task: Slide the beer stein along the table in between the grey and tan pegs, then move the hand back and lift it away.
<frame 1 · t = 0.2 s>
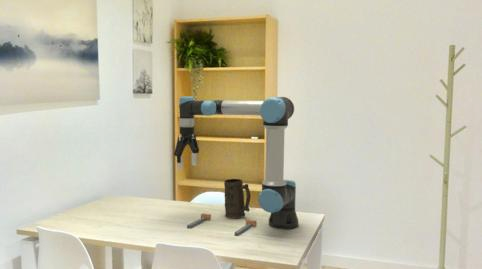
hand: (187, 167, 231), 28 cm above the table, tool pointing down, fingers open, 13 cm apart
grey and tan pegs: (219, 227, 220), on the table
beer stein: (237, 217, 239), on the table
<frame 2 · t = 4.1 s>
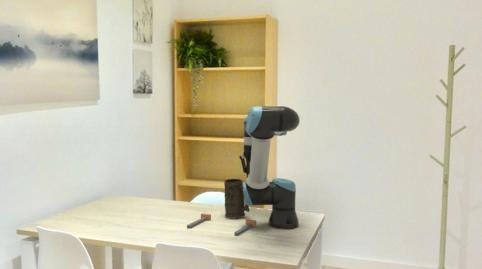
hand: (250, 185, 253), 14 cm above the table, tool pointing down, fingers closed
nothing on the table moved.
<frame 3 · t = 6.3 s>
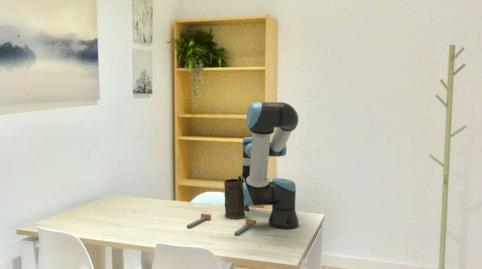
hand: (248, 205, 252), 3 cm above the table, tool pointing down, fingers closed
nothing on the table moved.
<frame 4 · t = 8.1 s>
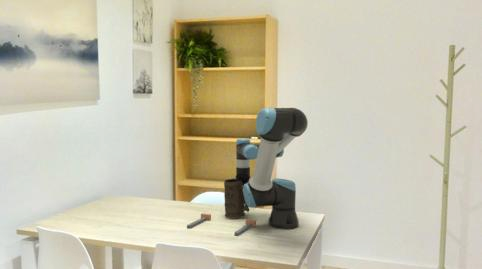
hand: (243, 209, 244), 3 cm above the table, tool pointing down, fingers closed
beer stein: (237, 217, 239), on the table, touching gripper
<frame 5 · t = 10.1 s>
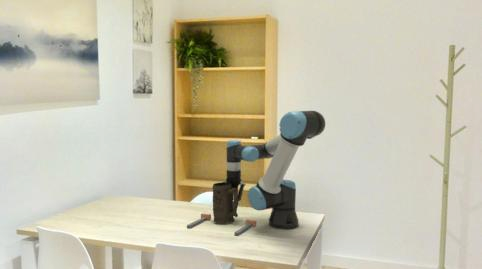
hand: (233, 213, 234), 3 cm above the table, tool pointing down, fingers closed
beer stein: (226, 222, 229), on the table, touching gripper, hand
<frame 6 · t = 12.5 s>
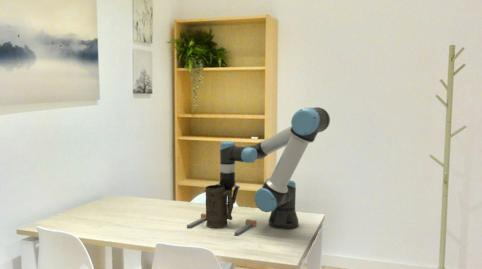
hand: (227, 217, 228), 3 cm above the table, tool pointing down, fingers closed
beer stein: (220, 226, 223), on the table, touching gripper, hand
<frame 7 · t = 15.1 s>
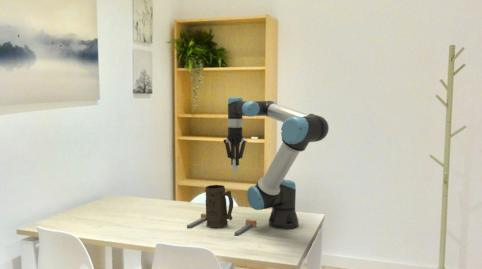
hand: (235, 171, 233), 25 cm above the table, tool pointing down, fingers closed
beer stein: (220, 226, 223), on the table
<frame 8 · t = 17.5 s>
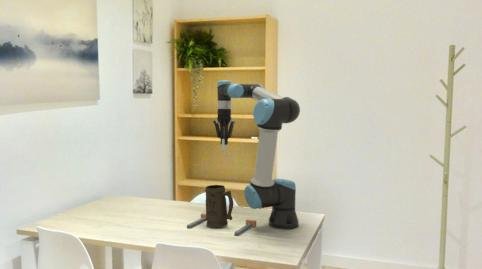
hand: (224, 150, 250), 34 cm above the table, tool pointing down, fingers closed
nothing on the table moved.
at the end: beer stein inside the target area (4.8 cm from its centre), on the table; beer stein tilted 0°; beer stein moved 18.5 cm from its start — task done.
